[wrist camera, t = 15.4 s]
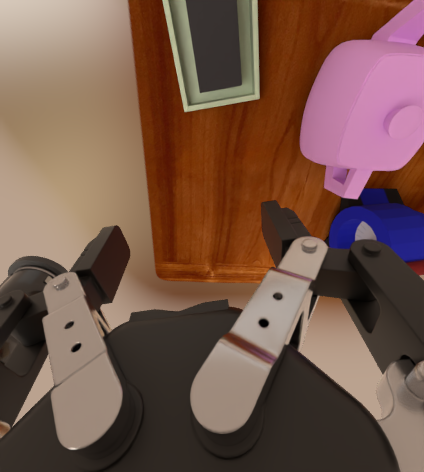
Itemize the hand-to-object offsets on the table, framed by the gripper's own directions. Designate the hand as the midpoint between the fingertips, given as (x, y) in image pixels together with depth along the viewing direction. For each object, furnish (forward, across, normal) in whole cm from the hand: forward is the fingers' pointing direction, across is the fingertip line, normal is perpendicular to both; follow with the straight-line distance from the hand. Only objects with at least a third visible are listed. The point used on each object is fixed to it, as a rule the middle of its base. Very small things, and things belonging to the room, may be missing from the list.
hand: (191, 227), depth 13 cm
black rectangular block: (+24, -4, -11) cm, 27 cm away
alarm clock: (+25, -27, +19) cm, 42 cm away
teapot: (+25, -20, -1) cm, 32 cm away
